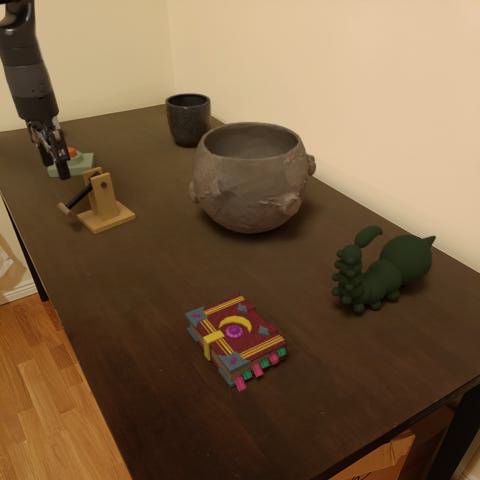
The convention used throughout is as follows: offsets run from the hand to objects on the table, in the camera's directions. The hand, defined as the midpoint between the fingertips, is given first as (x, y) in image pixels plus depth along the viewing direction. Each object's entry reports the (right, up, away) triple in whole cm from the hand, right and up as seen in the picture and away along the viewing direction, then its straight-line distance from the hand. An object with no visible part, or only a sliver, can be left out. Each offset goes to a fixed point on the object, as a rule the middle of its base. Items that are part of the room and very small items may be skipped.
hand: (57, 172), depth 91 cm
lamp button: (-10, +16, +32) cm, 37 cm away
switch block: (-10, +13, +34) cm, 38 cm away
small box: (-24, +27, +50) cm, 62 cm away
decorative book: (+38, -37, -17) cm, 56 cm away
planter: (+23, +26, +48) cm, 60 cm away
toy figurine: (+66, -27, -7) cm, 72 cm away
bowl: (+41, -8, +13) cm, 44 cm away
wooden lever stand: (+6, -7, +14) cm, 17 cm away
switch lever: (+3, -3, +7) cm, 9 cm away
